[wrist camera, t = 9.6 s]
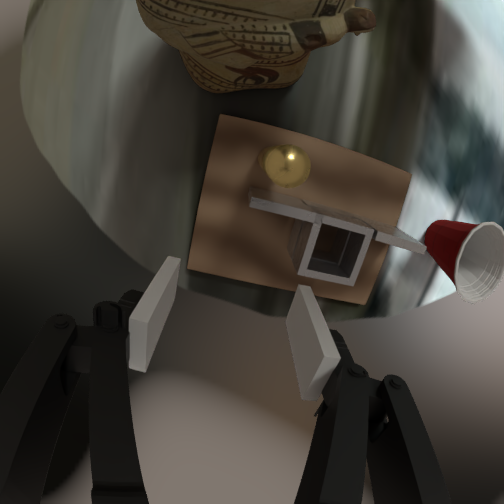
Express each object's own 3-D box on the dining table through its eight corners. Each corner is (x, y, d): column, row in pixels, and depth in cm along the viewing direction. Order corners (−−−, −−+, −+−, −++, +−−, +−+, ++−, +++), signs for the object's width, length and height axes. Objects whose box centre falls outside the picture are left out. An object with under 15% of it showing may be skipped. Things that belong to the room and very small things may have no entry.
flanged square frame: (250, 186, 34) (251, 196, 27) (350, 212, 35) (374, 229, 28) (237, 237, 36) (235, 261, 29) (334, 260, 38) (353, 286, 30)
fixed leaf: (301, 198, 35) (316, 213, 27) (395, 227, 36) (427, 246, 29) (286, 248, 37) (297, 275, 30) (379, 270, 39) (405, 297, 31)
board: (220, 114, 32) (220, 113, 31) (407, 173, 35) (411, 174, 34) (188, 264, 39) (186, 268, 38) (362, 300, 42) (365, 304, 41)
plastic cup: (459, 195, 36) (512, 214, 25) (461, 257, 40) (506, 287, 28) (406, 210, 37) (457, 236, 26) (412, 276, 41) (454, 315, 29)
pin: (261, 143, 33) (272, 139, 19) (287, 150, 33) (315, 151, 20) (255, 169, 34) (261, 182, 21) (281, 175, 34) (304, 193, 21)
